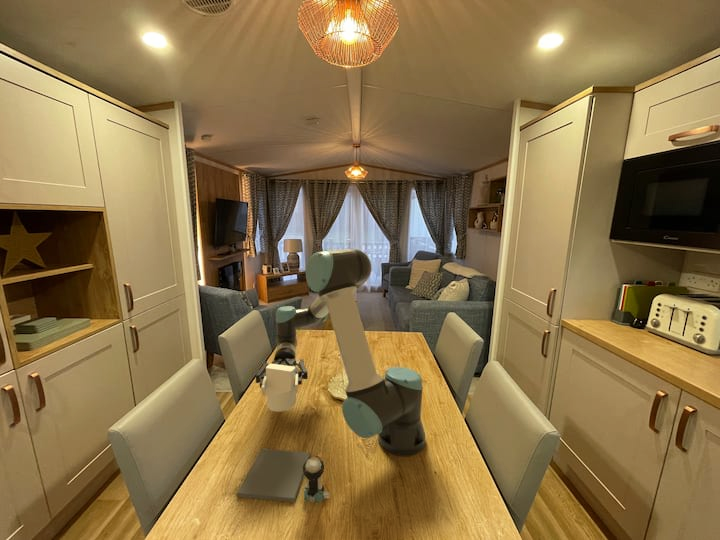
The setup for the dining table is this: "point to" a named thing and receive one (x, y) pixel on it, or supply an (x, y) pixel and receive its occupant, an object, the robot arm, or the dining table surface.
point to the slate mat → (274, 475)
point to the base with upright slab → (280, 387)
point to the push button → (314, 480)
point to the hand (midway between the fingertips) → (279, 390)
